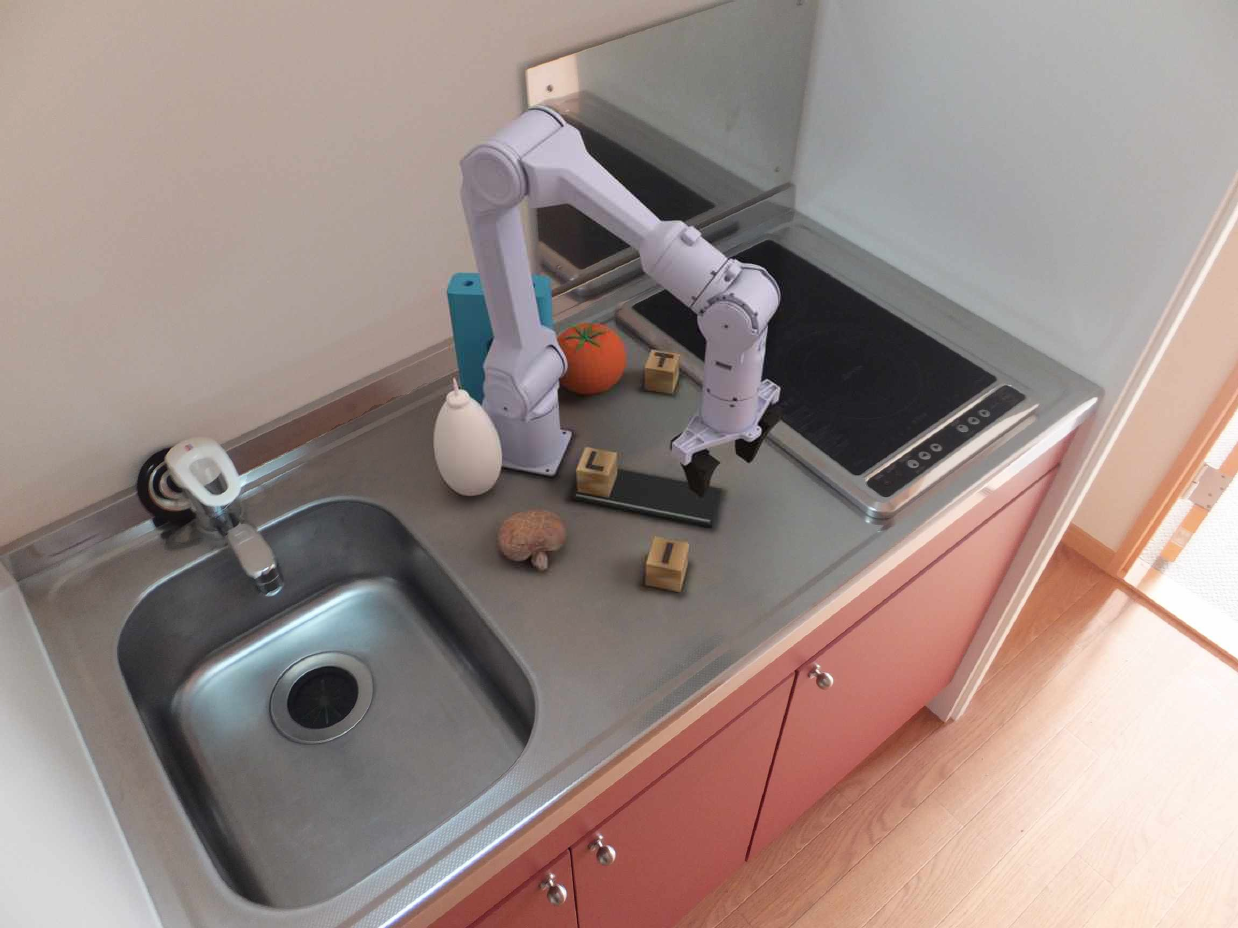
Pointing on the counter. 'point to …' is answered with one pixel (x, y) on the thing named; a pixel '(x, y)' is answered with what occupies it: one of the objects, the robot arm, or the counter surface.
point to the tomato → (591, 358)
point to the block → (482, 325)
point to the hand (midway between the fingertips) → (721, 474)
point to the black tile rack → (657, 498)
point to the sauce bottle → (466, 445)
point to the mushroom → (531, 536)
